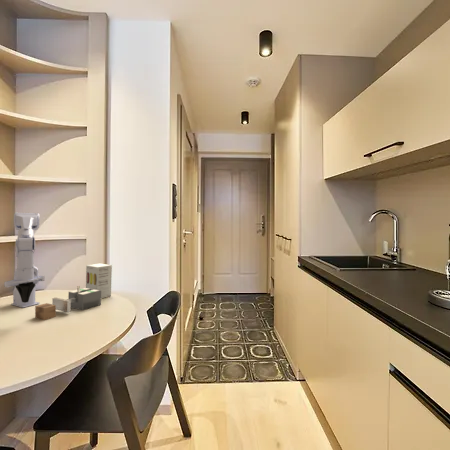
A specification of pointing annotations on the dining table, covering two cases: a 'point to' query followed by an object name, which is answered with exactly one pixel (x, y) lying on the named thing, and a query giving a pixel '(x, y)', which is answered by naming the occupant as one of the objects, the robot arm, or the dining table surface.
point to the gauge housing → (85, 298)
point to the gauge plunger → (65, 302)
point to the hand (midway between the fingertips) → (25, 301)
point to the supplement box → (99, 278)
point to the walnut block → (45, 311)
